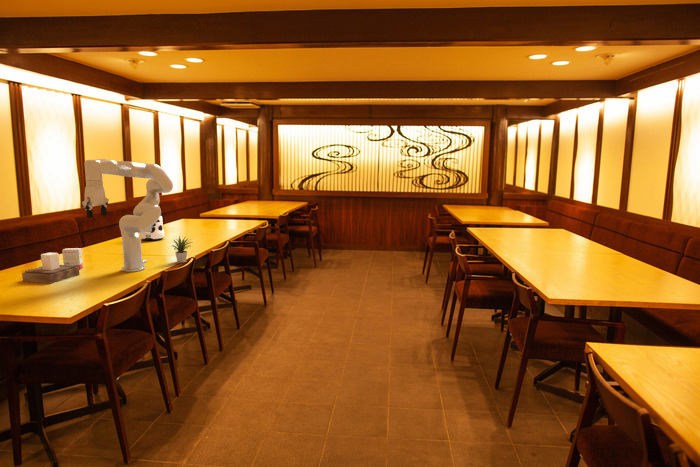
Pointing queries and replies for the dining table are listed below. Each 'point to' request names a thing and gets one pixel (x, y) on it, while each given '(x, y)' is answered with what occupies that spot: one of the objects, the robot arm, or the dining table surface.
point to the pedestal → (50, 274)
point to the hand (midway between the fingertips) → (97, 216)
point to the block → (50, 261)
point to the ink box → (72, 257)
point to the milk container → (154, 231)
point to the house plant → (181, 250)
